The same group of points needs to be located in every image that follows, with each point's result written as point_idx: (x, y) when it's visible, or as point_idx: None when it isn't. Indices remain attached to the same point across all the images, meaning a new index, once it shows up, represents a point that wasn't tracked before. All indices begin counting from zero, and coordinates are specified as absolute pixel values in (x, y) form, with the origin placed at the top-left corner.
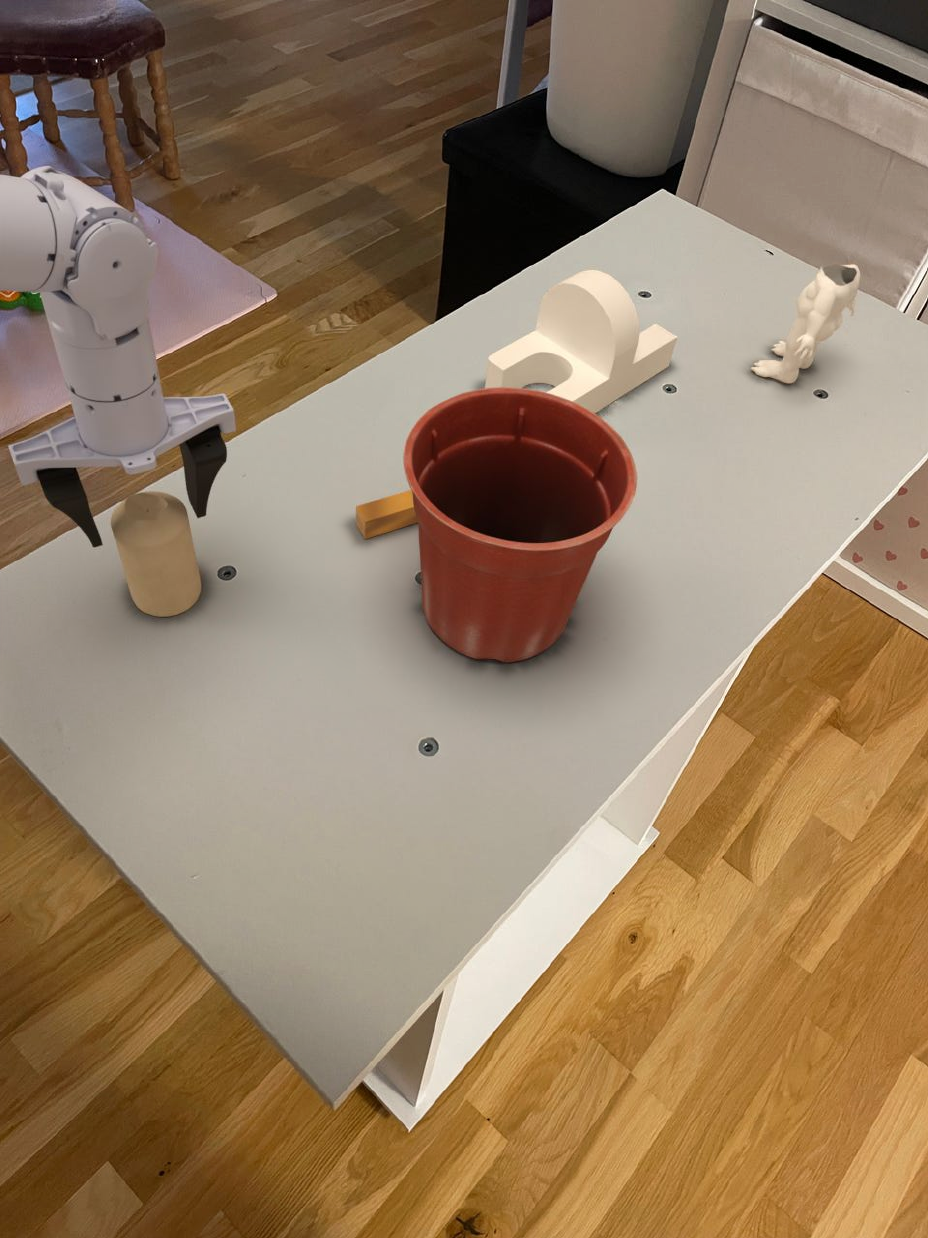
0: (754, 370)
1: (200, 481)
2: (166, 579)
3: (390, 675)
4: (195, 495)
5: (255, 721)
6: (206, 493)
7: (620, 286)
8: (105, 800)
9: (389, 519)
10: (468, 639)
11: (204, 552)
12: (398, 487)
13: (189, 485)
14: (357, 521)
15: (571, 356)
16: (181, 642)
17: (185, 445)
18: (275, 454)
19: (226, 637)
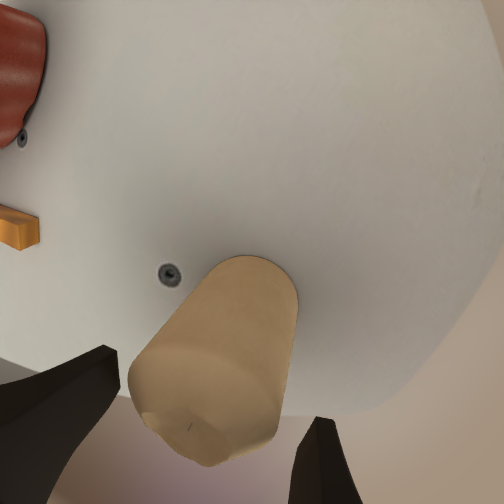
0: None
1: (19, 405)
2: (243, 294)
3: (100, 29)
4: (73, 388)
5: (265, 30)
6: (46, 374)
7: None
8: (478, 66)
9: (8, 217)
10: (23, 21)
11: None
12: (8, 255)
13: (85, 411)
14: (33, 240)
15: None
16: (281, 210)
17: (3, 488)
18: None
19: (221, 178)
